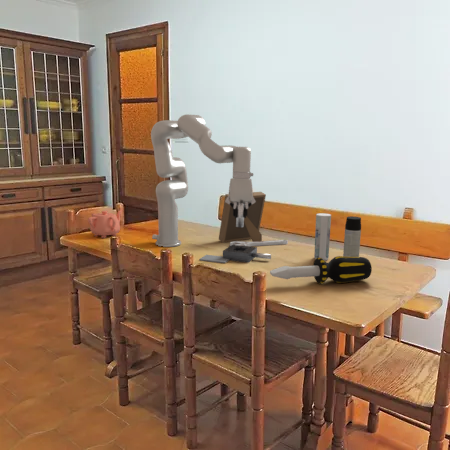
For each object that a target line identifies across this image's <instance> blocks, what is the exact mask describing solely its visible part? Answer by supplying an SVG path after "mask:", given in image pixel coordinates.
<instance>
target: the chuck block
mask: <svg viewBox="0 0 450 450" xmlns="http://www.w3.org/2000/svg"><path fill="white" fill-rule="evenodd" d="M222 256H223V258H224V259H229V261H232V262H237V263H239V262H240V263H250V262H251V261H253V259H255V258H259V259H268V260H271V258H272V254H271V253H270V254H269V253H261V252H258V246H250V247H248V246H238V245H231V246H230V245H229V246H228V247H227V248H224V250H222Z"/></svg>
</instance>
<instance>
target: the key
mask: <svg viewBox="0 0 450 450" xmlns="http://www.w3.org/2000/svg"><path fill="white" fill-rule="evenodd" d="M236 208H237V218H236V227H244V202H243V200H240V202H237V207H236Z"/></svg>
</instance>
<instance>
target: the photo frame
mask: <svg viewBox="0 0 450 450" xmlns="http://www.w3.org/2000/svg"><path fill="white" fill-rule="evenodd" d="M228 195H229V193H227V194H226V193H225V195H224V202H223V207H222V215H221V222H220V228H219V234H218V240H219V242H221V243H222V244H225V243H230V242H234V241H240V242H242V241H246V240H247V241H248V240H251V242H255V241H263V239H262V238H263V237H262V235H263V234H262V233H261V232H260V228H261V223H262V219H263V218H262V217H263V212H264V207H265V203H266V202H265V201H266V194H265V193H264V192H262V191H253V197H254V199H255V201H256V202H255V203H254V204H252V205H251V206H250V207H249V208H248V209H247V216H246V218H244V227H236V218H235V217H234V216H233V207H232V206H231V205H229V204H228V203H226V202H225V200H226V199H227V197H228ZM229 201H230V200H229ZM230 202H232V201H230ZM250 202H251V201H250ZM232 203H233V202H232ZM248 203H249V202H248ZM236 207H237V205H236Z"/></svg>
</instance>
